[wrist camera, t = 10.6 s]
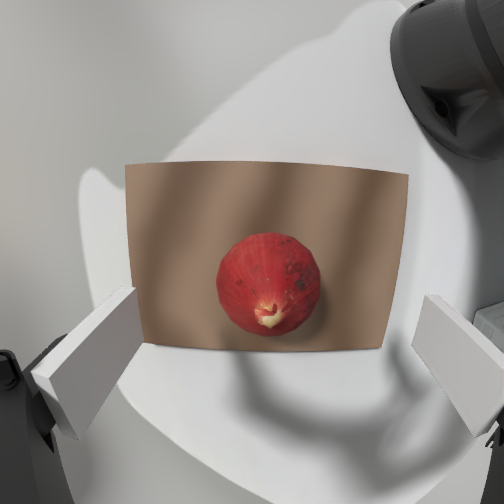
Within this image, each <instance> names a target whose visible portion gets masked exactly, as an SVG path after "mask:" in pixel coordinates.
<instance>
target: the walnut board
mask: <svg viewBox="0 0 504 504" xmlns="http://www.w3.org/2000/svg"><path fill="white" fill-rule="evenodd" d="M125 170H126V171H125V172H126V173H125V180H126V215H127V233H128V247H129V258H130V268H131V278H132V286H133V287H135V288H136V291H137V298H138V306H139V313H140V319H141V325H142V331H143V337H144V341H143V343H151V344H160V345H170V346H180V347H192V348H205V349H221V350H244V351H327V350H349V349H365V348H378V347H382V343H383V339H384V335H385V331H386V327H387V323H388V319H389V315H390V310H391V306H392V301H393V296H394V291H395V286H396V280H397V275H398V269H399V263H400V256H401V250H402V242H403V235H404V226H405V217H406V206H407V193H408V176H409V175H407V174H400V173H393V172H386V171H378V170H370V169H361V168H352V167H342V166H330V165H318V164H303V163H285V162H258V161H190V162H163V163H146V164H133V165H126V166H125ZM268 232H275V233H279V234H283V235H287V236H291V237H294V238H295V239H296V240H298V241H299V242H300V243H301V244H303V245H304V246H305V247H306V248H308V249H309V250H310V251H311V253H312V255H313V257H314V259H315V261H316V264H317V266H318V268H319V270H320V275H321V279H320V298H319V300H318V302H317V304H316V306H315V308H314V310H313V312H312V314H311V316H310V317H309V318H308V319H307V320H306V321H305V322H304V323H303V324H302V325H300V326H299V327H298V328H297V329H295V330H293V331H291V332H288V333H286V334H284V335H281V336H269V337H263V336H260V335H256V334H253V333H250V332H247V331H245V330H243V329H242V328H240V327H239V326H238V325H236V324H235V323H233V322H232V321H231V320H230V318H229V317H228V315H227V314H226V312H225V311H224V309H223V307H222V306H221V304H220V303H219V297H218V292H217V287H216V277H217V273H218V270H219V266H220V262H221V260H222V259H223V257H224V256H225V255H226V254H227V253H228V252H229V250H230V249H231V248H232V247H233V246H234V245H235V244H236V243H238V242H240V241H242V240H243V239H245V238H247V237H249V236H250V235H254V234H261V233H268Z"/></svg>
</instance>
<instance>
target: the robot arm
mask: <svg viewBox="0 0 504 504" xmlns="http://www.w3.org/2000/svg"><path fill="white" fill-rule="evenodd" d="M390 52H391V60H392V65H393V69H394V72H395V75H396V78H397V81H398V84H399V86H400V88H401V91H402V93H403V95H404V97H405V99H406V101H407V102H408V104H409V106H410V108H411V109H412V111H413V112H414V114H415V115H416V117H417V118H418V120H419V121H420V122H421V124H422V125H423V126H424V127H425V128H426V130H427V131H428V132H429V133H430V134H431V135H432V136H433V137H434V138H435V139H436V140H437V141H438V142H439V143H441V144H442V145H443V146H444V147H446V148H447V149H449V150H450V151H452V152H454V153H455V154H457V155H460V156H462V157H465V158H469V159H487V160H491V159H497V158H501V157H504V0H424V1H420V2H418V3H416V4H414V5H413V6H411V7H410V8H409V9H408V10H407V11H406V12H405V13H404V14H403V15H402V16H401V17H400V18H399V19H398V20H397V21H396V23H395V25H394V27H393V30H392V33H391V40H390ZM143 341H144V337H143V331H142V325H141V319H140V313H139V306H138V298H137V291H136V288H135V287H123V286H121V287H120V288H119V289H118V290H117V291H115V292H114V293H113V294H112V295H111V296H110V297H109V298H107V299H106V300H105V301H104V302H103V303H102V304H101V305H100V306H99V307H97V308H96V309H95V310H94V311H93V312H92V313H91V314H90V315H89V316H88V317H86V318H85V319H84V320H83V321H82V322H81V323H80V324H79V325H78V326H77V327H76V328H75V329H73V330H72V331H71V332H70V333H69V334H65V335H63V336H61V337H59V338H57V339H56V340H55V341H54V342H52V343H51V345H49V346H48V348H46V349H45V350H44V351H43V352H42V354H40V355H39V356H38V357H37V358H36V359H35V360H34V361H33V362H32V363H31V364H30V365H28V366H27V367H26V369H24V370H23V371H21V369H20V367H19V364H18V362H17V359H16V357H15V355H14V353H13V352H12V351H9V350H0V504H74V502H73V499H72V496H71V493H70V490H69V487H68V484H67V480H66V477H65V474H64V470H63V467H62V463H61V459H60V455H59V452H58V447H57V443H56V438H55V435H54V433H53V431H52V428H53V426H54V425H55V423H56V424H57V425H58V427H59V429H60V431H61V432H62V434H63V435H66V436H68V437H71V438H73V439H76V440H79V441H81V439H82V437H83V436H84V434H85V432H86V431H87V429H88V428H89V426H90V424H91V423H92V421H93V419H94V418H95V416H96V414H97V412H98V411H99V410H100V408H101V406H102V405H103V403H104V402H105V400H106V398H107V397H108V395H109V394H110V392H111V390H112V389H113V387H114V386H115V384H116V383H117V381H118V379H119V378H120V376H121V375H122V373H123V372H124V370H125V369H126V367H127V365H128V364H129V362H130V361H131V359H132V358H133V356H134V355H135V353H136V352H137V350H138V349H139V347H140V346H141V344H142V343H143ZM411 346H412V347H413V348H414V350H415V351H416V352H417V354H418V355H419V356H420V358H421V359H422V361H423V362H424V363H425V365H426V366H427V368H428V369H429V370H430V372H431V373H432V375H433V376H434V377H435V379H436V380H437V382H438V383H439V385H440V386H441V388H442V389H443V390H444V392H445V393H446V395H447V396H448V398H449V399H450V401H451V402H452V404H453V405H454V407H455V408H456V410H457V412H458V413H459V415H460V416H461V418H462V419H463V421H464V422H465V424H466V426H467V427H468V429H469V430H470V432H471V434H472V435H473V437H474V438H475V437H478V436H480V435H482V434H485V433H487V432H488V431H489V430H490V428H491V427H492V425H493V424H494V422H495V421H497V422H498V424H499V426H498V428H497V429H496V430H495V432H494V433H493V435H492V436H491V437H490V439H489V440H488V441H487V443H486V445H485V447H487V446H488V445H489V444H490V443H491V441H494V442H493V444H492V446H491V447H490V448H493V449H492V455H491V461H490V466H489V471H488V475H487V480H486V484H485V488H484V492H483V495H482V499H481V503H480V504H504V353H503V351H501V350H500V349H499V348H498V347H497V346H496V345H495V344H493V343H492V342H491V341H490V340H489V339H488V338H487V337H485V336H484V335H483V334H482V333H481V332H480V331H479V330H478V329H477V328H476V327H474V326H473V325H472V324H471V323H470V322H469V321H468V320H466V319H465V318H464V317H463V316H462V315H461V314H460V313H458V312H457V311H456V310H455V309H454V308H453V307H451V306H450V305H449V304H448V303H447V302H445V301H444V300H443V299H442V298H441V297H439V296H438V295H425V297H424V302H423V306H422V310H421V313H420V317H419V321H418V325H417V328H416V332H415V335H414V338H413V341H412V345H411Z"/></svg>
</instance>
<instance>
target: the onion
mask: <svg viewBox="0 0 504 504" xmlns="http://www.w3.org/2000/svg"><path fill="white" fill-rule="evenodd" d="M320 279H321V275H320V270H319V268H318V266H317V264H316V261H315V259H314V257H313V255H312V253H311V251H310V250H309V249H308V248H306V247H305V246H304V245H303V244H301V243H300V242H299V241H298V240H296V239H295V238H294V237H291V236H287V235H283V234H279V233H275V232H268V233H261V234H254V235H250V236H249V237H247V238H245V239H243V240H242V241H240V242H238V243H236V244H235V245H234V246H233V247H232V248H231V249H230V250H229V252H228V253H227V254H226V255H225V256H224V257H223V259H222V260H221V262H220V266H219V270H218V273H217V277H216V287H217V292H218V297H219V303H220V304H221V306H222V307H223V309H224V311H225V312H226V314H227V315H228V317H229V318H230V320H231V321H232V322H233V323H235V324H236V325H238V326H239V327H240V328H242V329H243V330H245V331H247V332H250V333H253V334H256V335H260V336H263V337H269V336H281V335H284V334H286V333H288V332H291V331H293V330H295V329H297V328H298V327H299V326H300V325H302V324H303V323H304V322H305V321H306V320H307V319H308V318H309V317H310V316H311V314H312V312H313V310H314V308H315V306H316V304H317V302H318V300H319V298H320Z"/></svg>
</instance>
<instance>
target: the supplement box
mask: <svg viewBox="0 0 504 504" xmlns="http://www.w3.org/2000/svg"><path fill="white" fill-rule="evenodd" d="M473 326H474V327H476V328H477V329H478V330H479V331H480V332H481V333H482V334H483V335H484V336H485V337H487V338H488V339H489V340H490V341H491V342H492V343H493V344H495V345H496V346H497V347H498V348H499V349H500V350H501V351H503V353H504V301H503V302H501V303H498V304H495V305H492V306H489V307H486V308H483V309H480V310H477V311H476V313H475V318H474V322H473Z"/></svg>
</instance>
